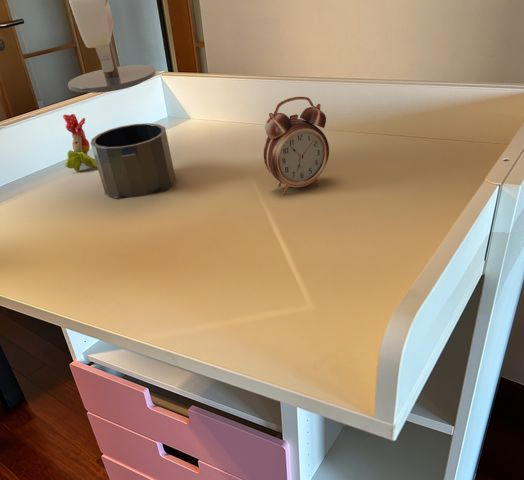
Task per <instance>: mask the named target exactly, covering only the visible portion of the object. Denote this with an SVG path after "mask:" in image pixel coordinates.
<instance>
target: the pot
mask: <svg viewBox="0 0 524 480" xmlns="http://www.w3.org/2000/svg"><path fill="white" fill-rule="evenodd" d="M90 140H91V141H90V147H91V149H92V153H93V157H94V160H96V164H97V166H96V167H97V171H98V174H99V178H100V180H101V185H102V187H103V191H104V193H105V195H106V196H107V197H109V198H111V199H113V200H117V201H118V200H124V199H125V200H126V199H130V198H136V197H142V196H143V197H144V196H148V195H154V194H159V193H164V192H166V191H168V190H170V189H171V188H172V187H174V186H175V184H176V181H177V178H176V173H175V168H174V163H173V158H172V153H171V149H170V143H169V140H168V134H167V129H166V127H165V126H163V125H161V124H158V123H149V122H148V123H133V124H127V125H120V126H118V127H113V128H110V129H107V130H105V131H102V132H101V133H98V134H96V135H95V136H93V138H91V139H90Z"/></svg>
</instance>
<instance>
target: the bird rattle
mask: <svg viewBox="0 0 524 480" xmlns="http://www.w3.org/2000/svg"><path fill="white" fill-rule="evenodd" d="M62 118H63V119H64V122H65V123H66V124H65V129H66V130H67V131H68V132H70V133H71V137H72V149H73V150H68V151H67V160H66V161H65V167H66V168H67V169H73V170H74V171H75V172H79V171H80V169H81V166H82V165H85V166H88V167H91V168H95V167H97V164H96V160H95V158H93V157H91V156H90V155H88V153H89V151H90V149H91V148H90V147H91V144H90V142H89V140H88V139H87V138H86V134H85V131H84V129H83V126H84V125H85V123H86V117H81V120H80V121H78V119H77V117H76V114H74V113H71V114H63V116H62Z"/></svg>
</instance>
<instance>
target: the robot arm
mask: <svg viewBox="0 0 524 480" xmlns="http://www.w3.org/2000/svg"><path fill="white" fill-rule="evenodd" d="M68 3H69V6H70V9H71V12H72V15H73V17H74V21H75V23H76V26H77V28H78V32H79V34H80V37H81V39H82V42H83V43H84V46H85V47H86V48H88V49H93V48H94V49H95V51H96V54H97V57H98V59H99V61H100V65H101V70H102V69H103V71H104V72H112V71H113V70H114V65H113V61H112V58H111V53H110V48H109V44H111V45H112V35H113V31H114V28H115V24H114V23H115V22H114V18H113V13H112V9H111V5H110V1H109V0H68ZM112 46H113V45H112Z"/></svg>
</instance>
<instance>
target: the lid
mask: <svg viewBox="0 0 524 480" xmlns="http://www.w3.org/2000/svg"><path fill="white" fill-rule="evenodd" d="M111 44H112V43H111ZM111 44H109V48H110V53H111V58H112V61H113V65H114V70H113V71H112V72H104V71H103V69H102V68H101V69H98V70H94V71H90V72H87V73H83V74H81V75H78V76H75V77H73V78H72V79H70V80H69V81H68V82H67V87H68V89H69V90H70V91H72V92H77V93H90V94H91V93H93V94H97V93H99V94H101V93H108V92H116V91H121V90H124V89H128V88H132V87H136V86H138V85H140V84H142V83H144V82H146V81H149V80H151V79H153V78H154V77H155V76H156V74H157V69H156V67H154V66H151V65H145V64H131V65H120V66H118V65H117V61H116V60H117V59H116V56H115V53H114V52H115V51H114V47H113V45H111Z"/></svg>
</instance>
